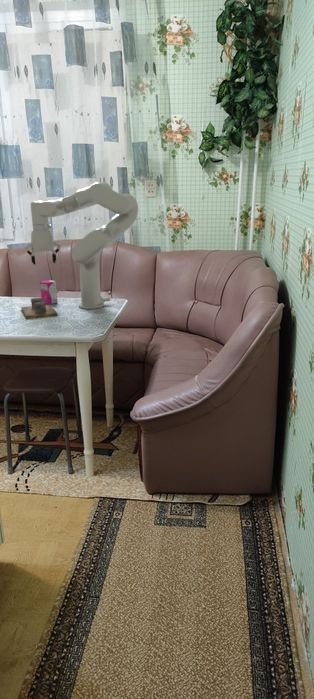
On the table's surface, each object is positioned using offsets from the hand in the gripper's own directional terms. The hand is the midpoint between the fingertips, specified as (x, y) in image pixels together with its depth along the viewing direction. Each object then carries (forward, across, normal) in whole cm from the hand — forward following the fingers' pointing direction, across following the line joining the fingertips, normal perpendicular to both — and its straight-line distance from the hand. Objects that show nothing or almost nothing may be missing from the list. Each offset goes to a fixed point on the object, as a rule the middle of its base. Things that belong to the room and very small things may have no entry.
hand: (44, 263), depth 250 cm
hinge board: (+21, +7, +16) cm, 27 cm away
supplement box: (+21, -1, -1) cm, 21 cm away
